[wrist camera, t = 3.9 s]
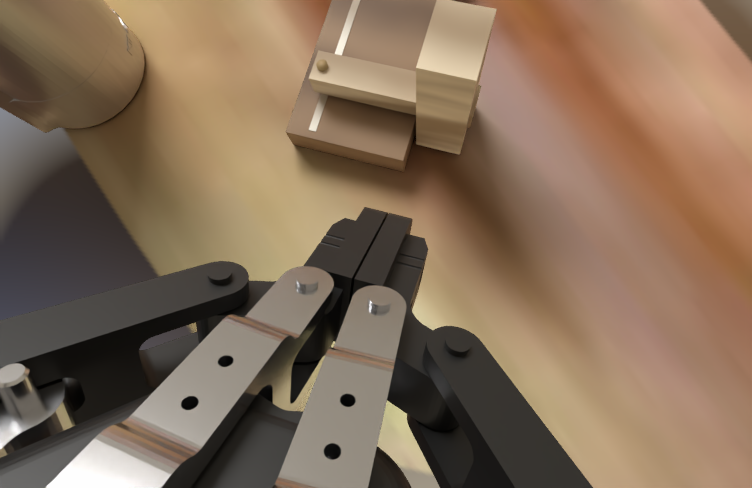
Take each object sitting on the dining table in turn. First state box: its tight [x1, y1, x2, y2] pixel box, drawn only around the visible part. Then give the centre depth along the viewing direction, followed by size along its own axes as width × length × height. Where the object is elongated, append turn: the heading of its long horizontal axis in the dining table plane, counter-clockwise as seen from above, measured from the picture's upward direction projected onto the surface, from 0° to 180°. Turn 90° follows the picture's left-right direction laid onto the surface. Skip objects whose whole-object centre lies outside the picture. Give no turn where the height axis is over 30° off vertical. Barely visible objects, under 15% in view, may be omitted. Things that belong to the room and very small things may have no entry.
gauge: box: [309, 0, 497, 155], centre depth 28 cm, size 4×10×9 cm, turn 73°
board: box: [286, 0, 455, 172], centre depth 33 cm, size 20×8×2 cm, turn 163°
